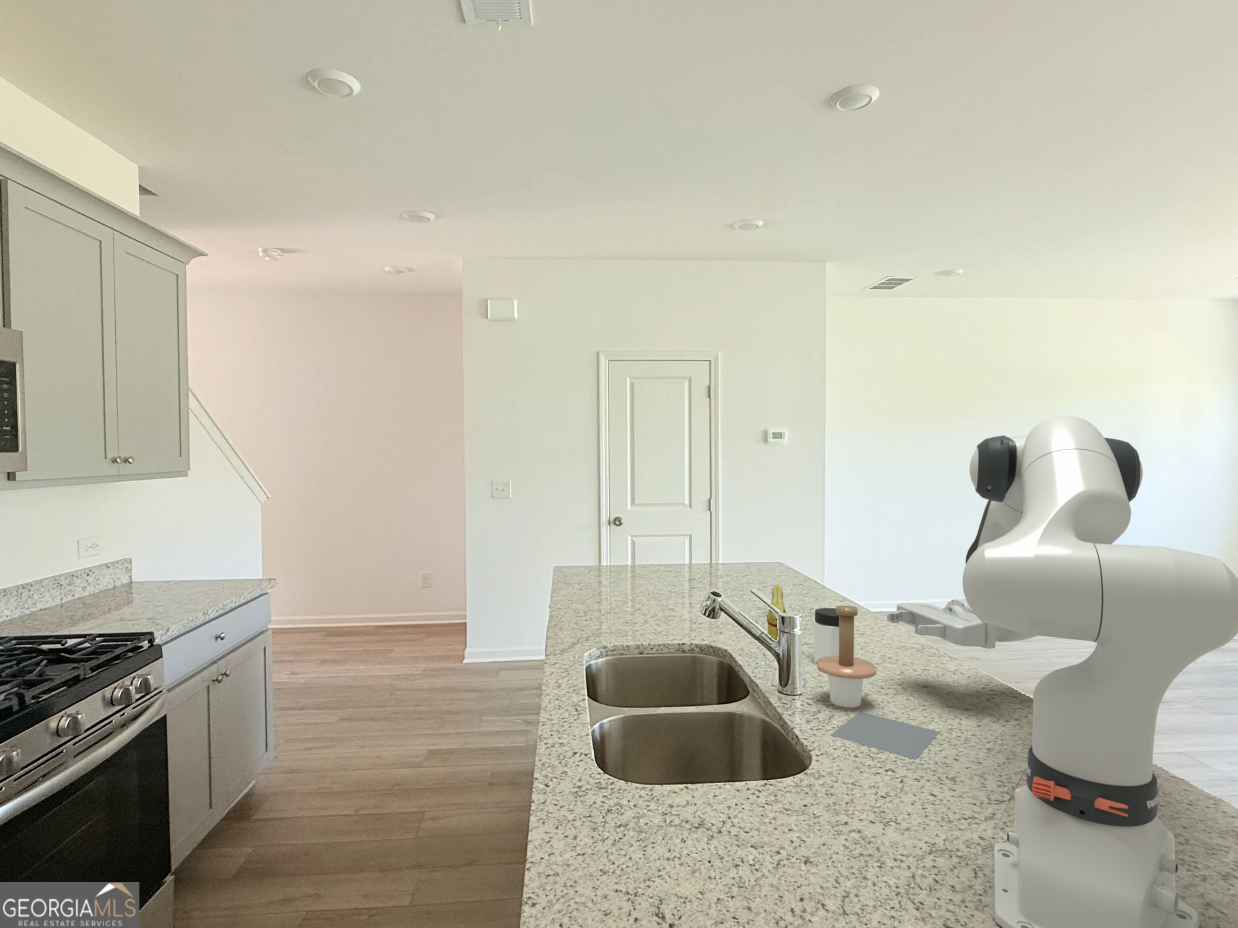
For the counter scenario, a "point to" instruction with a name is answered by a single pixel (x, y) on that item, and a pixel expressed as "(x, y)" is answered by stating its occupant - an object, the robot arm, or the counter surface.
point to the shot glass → (845, 691)
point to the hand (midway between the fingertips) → (902, 623)
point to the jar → (826, 633)
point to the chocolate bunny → (772, 620)
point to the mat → (886, 734)
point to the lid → (846, 651)
